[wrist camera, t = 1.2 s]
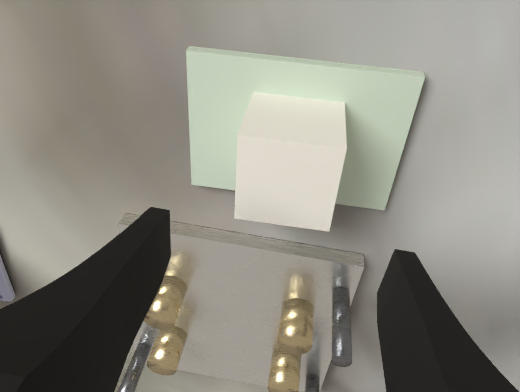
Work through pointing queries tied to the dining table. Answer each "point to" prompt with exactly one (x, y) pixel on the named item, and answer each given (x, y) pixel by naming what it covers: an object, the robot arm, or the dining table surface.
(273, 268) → the plate
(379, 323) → the robot arm
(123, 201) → the dining table surface
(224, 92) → the sage board
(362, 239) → the dining table surface
